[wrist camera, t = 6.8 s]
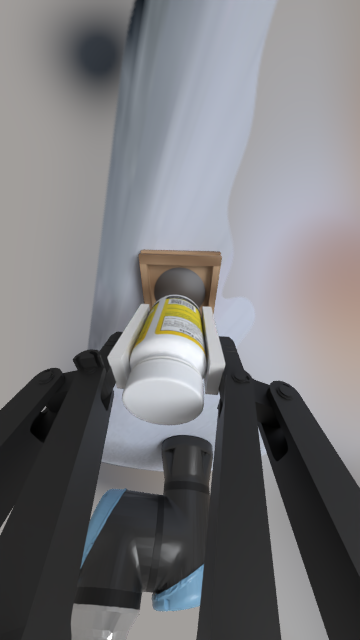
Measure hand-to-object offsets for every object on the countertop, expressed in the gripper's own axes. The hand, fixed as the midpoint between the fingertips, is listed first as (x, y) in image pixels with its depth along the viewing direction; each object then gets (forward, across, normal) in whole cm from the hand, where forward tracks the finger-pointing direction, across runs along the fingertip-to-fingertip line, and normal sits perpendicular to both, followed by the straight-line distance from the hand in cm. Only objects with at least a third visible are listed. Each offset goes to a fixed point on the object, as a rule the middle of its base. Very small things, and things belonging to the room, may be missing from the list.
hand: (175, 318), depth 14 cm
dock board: (+7, 0, 0) cm, 7 cm away
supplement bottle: (+1, 0, 0) cm, 1 cm away
